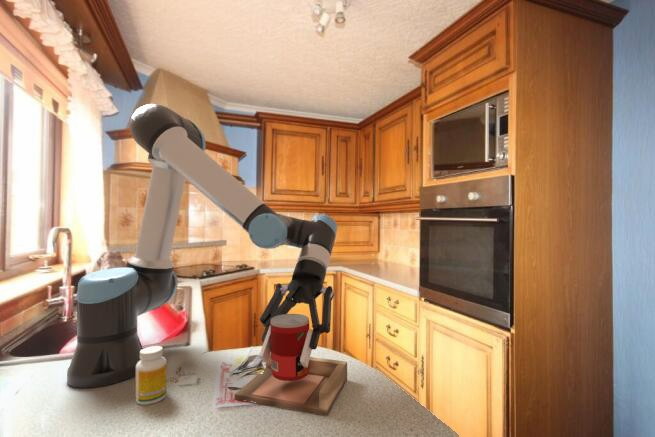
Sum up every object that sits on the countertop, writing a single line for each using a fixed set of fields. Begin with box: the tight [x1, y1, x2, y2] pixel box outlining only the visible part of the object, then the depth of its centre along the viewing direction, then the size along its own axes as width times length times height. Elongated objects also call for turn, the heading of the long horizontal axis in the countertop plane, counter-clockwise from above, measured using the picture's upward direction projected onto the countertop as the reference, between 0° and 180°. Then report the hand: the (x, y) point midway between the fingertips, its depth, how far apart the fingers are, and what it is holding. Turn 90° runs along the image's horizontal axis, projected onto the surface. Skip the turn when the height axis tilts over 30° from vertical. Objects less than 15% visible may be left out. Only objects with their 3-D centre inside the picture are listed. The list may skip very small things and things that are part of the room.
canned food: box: [270, 313, 310, 381], centre depth 67 cm, size 8×8×11 cm
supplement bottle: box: [134, 345, 167, 406], centre depth 65 cm, size 5×5×10 cm
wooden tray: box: [234, 352, 348, 417], centre depth 68 cm, size 19×14×4 cm
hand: (283, 361), depth 64 cm, fingers closed on canned food, 8 cm apart
